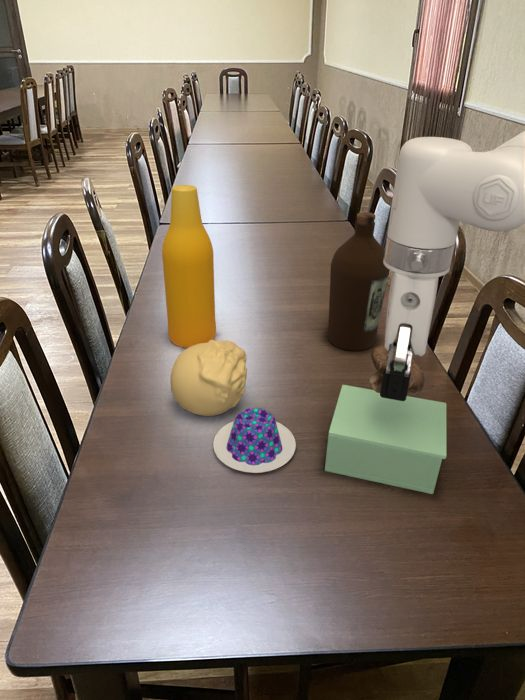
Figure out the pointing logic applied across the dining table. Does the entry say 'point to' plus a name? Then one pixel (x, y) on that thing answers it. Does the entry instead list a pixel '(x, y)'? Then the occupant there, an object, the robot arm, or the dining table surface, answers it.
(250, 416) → the pudding
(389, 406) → the green flat panel
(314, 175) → the dining table surface
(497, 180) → the robot arm
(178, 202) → the beer bottle
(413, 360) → the mushroom
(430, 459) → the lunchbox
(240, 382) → the sculpture
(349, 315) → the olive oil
